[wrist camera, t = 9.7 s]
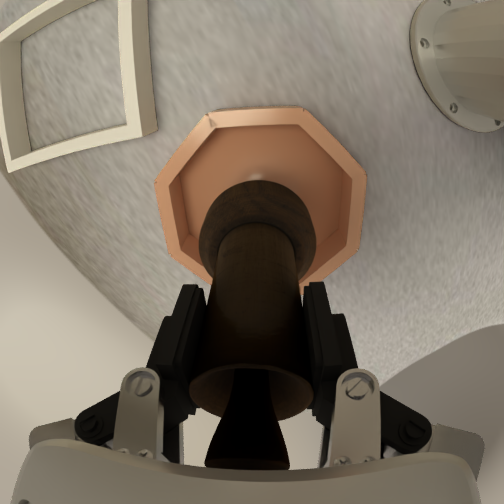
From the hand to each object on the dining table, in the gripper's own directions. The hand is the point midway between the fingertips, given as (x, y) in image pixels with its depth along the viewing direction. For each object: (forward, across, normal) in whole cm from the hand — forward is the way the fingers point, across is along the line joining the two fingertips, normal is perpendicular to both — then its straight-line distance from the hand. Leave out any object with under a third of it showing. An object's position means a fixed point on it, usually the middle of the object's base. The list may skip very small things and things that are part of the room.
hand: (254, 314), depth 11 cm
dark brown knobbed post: (+7, 0, 0) cm, 7 cm away
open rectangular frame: (+13, +15, -13) cm, 24 cm away
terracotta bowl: (+13, 0, 0) cm, 13 cm away
